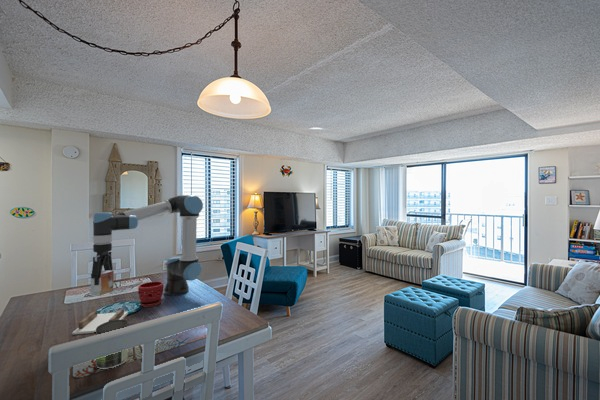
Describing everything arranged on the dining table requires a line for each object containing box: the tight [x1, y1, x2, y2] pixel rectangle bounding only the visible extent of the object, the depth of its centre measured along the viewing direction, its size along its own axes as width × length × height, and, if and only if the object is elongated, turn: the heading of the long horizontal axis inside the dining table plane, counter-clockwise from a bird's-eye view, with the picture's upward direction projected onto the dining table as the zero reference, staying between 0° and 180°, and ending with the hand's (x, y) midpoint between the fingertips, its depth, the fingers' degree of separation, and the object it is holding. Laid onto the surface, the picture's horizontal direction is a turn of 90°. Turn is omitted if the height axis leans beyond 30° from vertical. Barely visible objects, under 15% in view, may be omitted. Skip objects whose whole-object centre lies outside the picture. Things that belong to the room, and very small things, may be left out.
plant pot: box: [137, 281, 164, 308], centre depth 163 cm, size 13×13×12 cm
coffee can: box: [95, 319, 129, 370], centre depth 106 cm, size 10×10×14 cm
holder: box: [72, 308, 129, 336], centre depth 138 cm, size 20×16×4 cm
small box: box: [90, 269, 115, 297], centre depth 137 cm, size 8×6×10 cm
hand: (102, 287), depth 137 cm, fingers closed on small box, 9 cm apart
